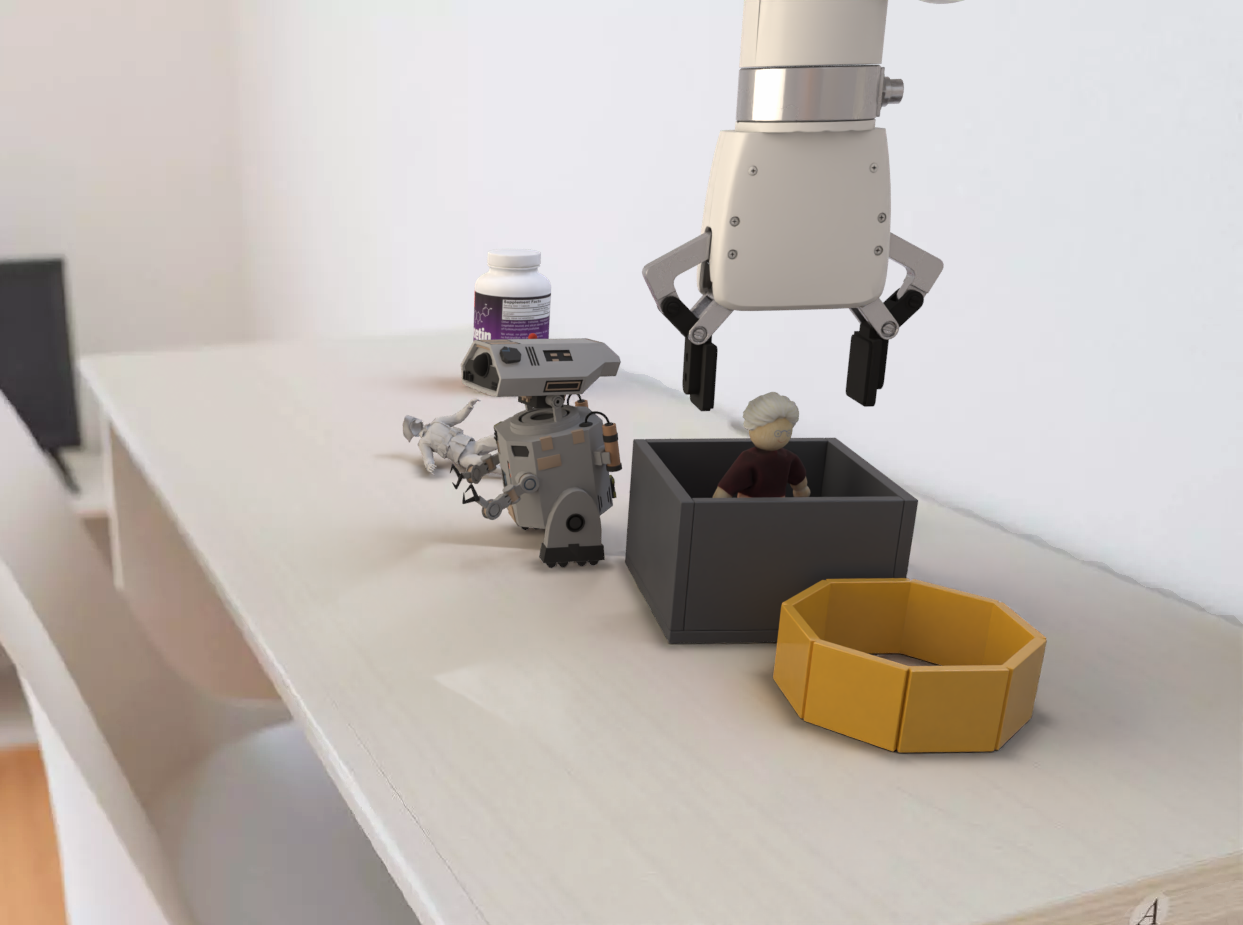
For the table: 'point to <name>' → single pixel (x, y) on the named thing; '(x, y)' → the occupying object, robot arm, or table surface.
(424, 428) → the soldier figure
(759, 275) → the robot arm
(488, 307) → the pill bottle
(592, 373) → the figurine
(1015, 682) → the yellow octagonal ring
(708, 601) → the bin
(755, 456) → the grandmother figurine
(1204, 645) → the table surface
